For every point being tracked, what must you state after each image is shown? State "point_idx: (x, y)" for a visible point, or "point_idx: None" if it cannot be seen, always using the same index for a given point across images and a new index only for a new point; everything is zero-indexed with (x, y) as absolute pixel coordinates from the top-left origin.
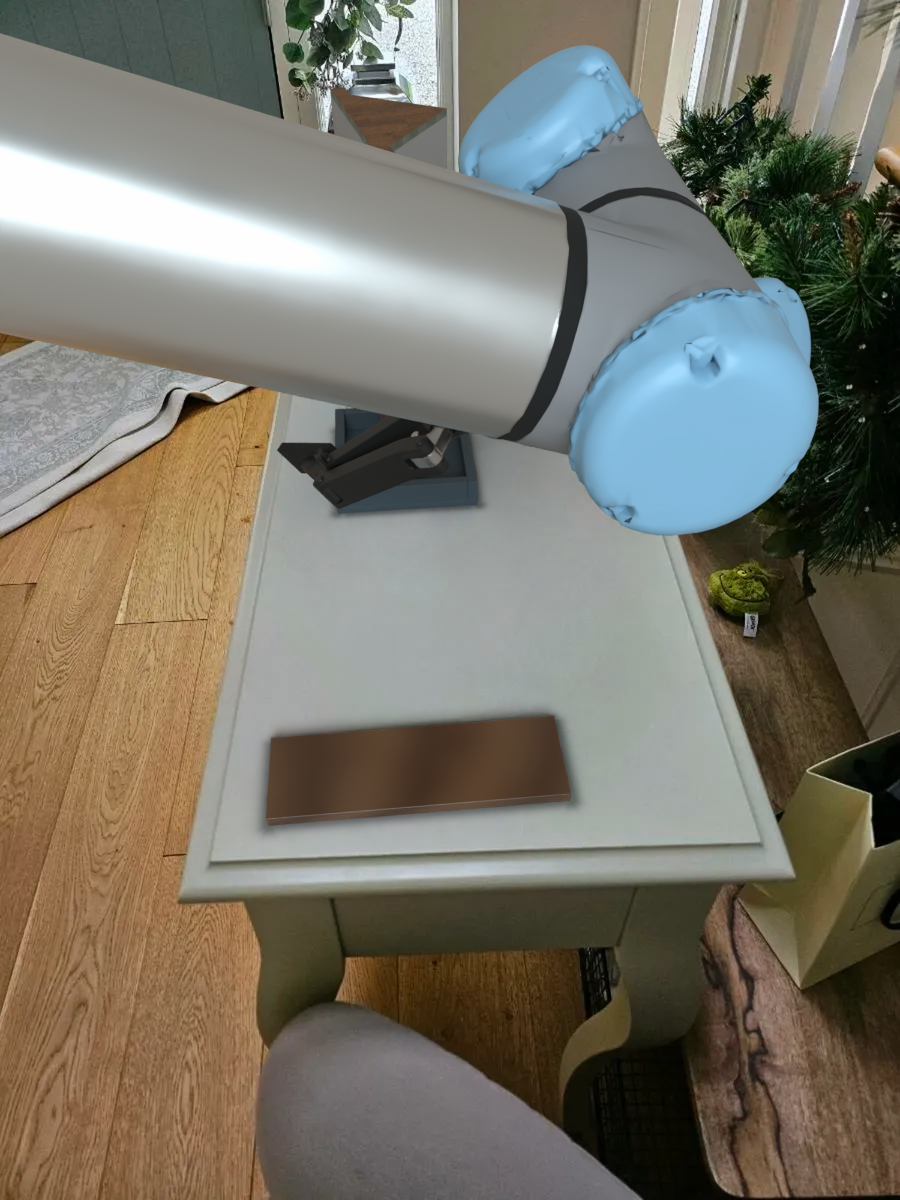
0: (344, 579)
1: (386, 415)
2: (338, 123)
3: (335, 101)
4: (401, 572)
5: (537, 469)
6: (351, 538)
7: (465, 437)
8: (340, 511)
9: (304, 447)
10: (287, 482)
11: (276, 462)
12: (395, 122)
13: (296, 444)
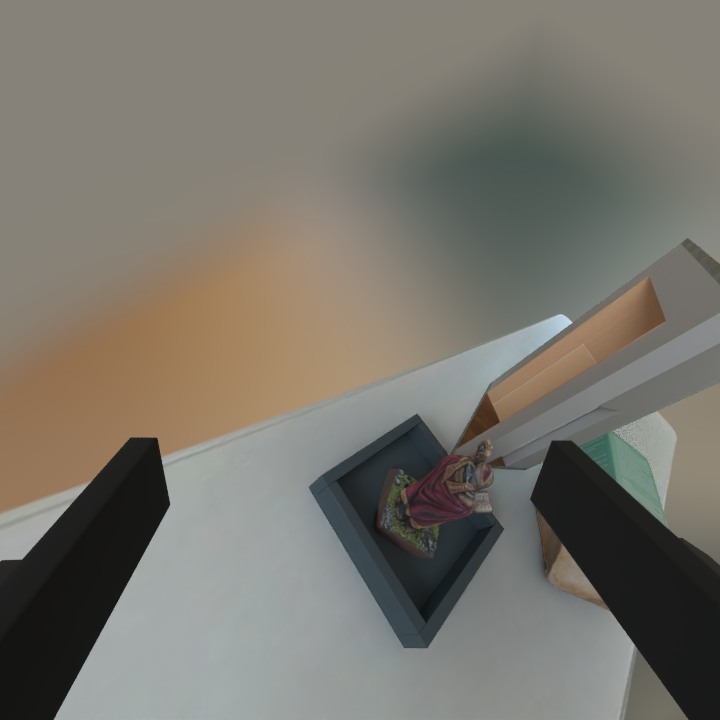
0: (206, 565)
1: (433, 480)
2: (665, 262)
3: (685, 246)
4: (248, 637)
5: (493, 680)
6: (280, 526)
7: (470, 570)
8: (311, 489)
9: (50, 544)
10: (324, 415)
11: (341, 394)
12: None
13: (106, 492)
